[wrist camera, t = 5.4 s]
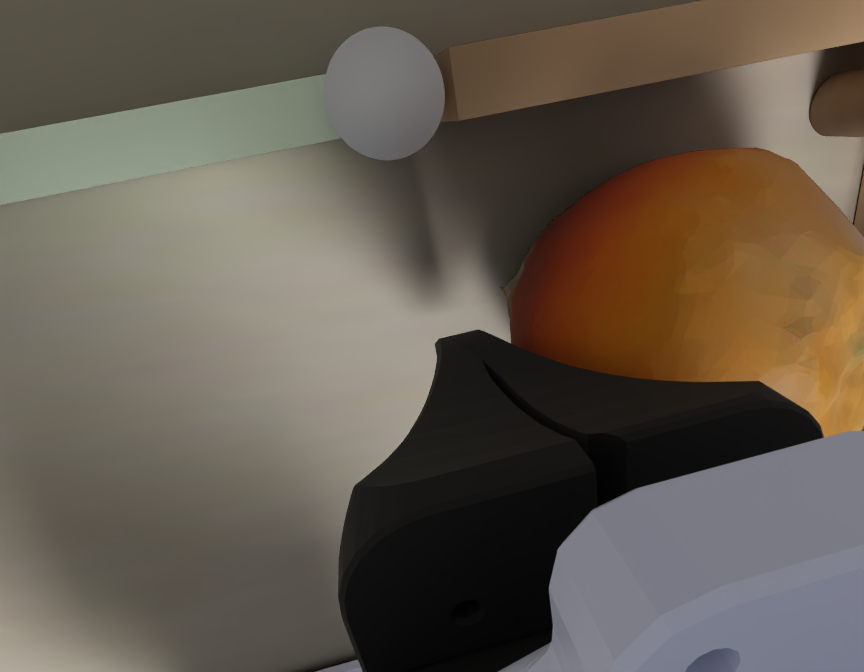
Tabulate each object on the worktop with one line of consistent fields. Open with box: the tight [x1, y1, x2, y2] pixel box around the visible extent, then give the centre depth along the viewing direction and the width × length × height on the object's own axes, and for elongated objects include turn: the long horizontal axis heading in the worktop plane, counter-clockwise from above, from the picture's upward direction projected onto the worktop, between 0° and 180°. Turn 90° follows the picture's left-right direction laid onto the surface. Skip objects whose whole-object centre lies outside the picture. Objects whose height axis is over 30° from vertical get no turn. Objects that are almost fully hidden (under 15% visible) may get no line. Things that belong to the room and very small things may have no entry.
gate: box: [0, 26, 445, 205], centre depth 9 cm, size 13×2×3 cm, turn 100°
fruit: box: [500, 148, 864, 437], centre depth 12 cm, size 8×8×8 cm
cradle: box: [434, 0, 864, 431], centre depth 13 cm, size 13×13×4 cm
